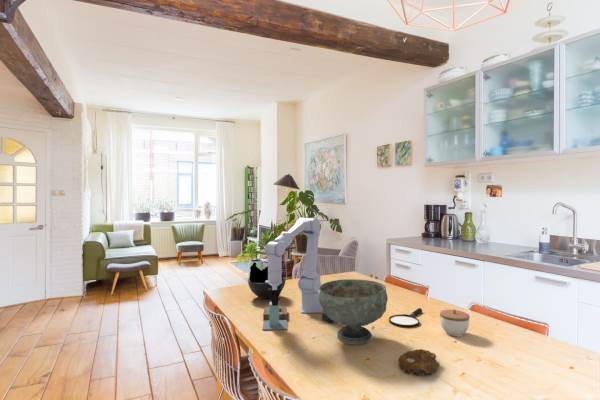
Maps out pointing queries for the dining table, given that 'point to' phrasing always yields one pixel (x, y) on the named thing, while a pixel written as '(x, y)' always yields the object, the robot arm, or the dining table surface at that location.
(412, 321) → the magnifying glass
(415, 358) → the decorative rock
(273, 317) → the teal block
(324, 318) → the watch
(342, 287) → the decorative bowl
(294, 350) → the dining table surface
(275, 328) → the rubber mat
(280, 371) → the dining table surface
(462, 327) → the lidded jar
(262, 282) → the coal bowl
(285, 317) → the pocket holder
